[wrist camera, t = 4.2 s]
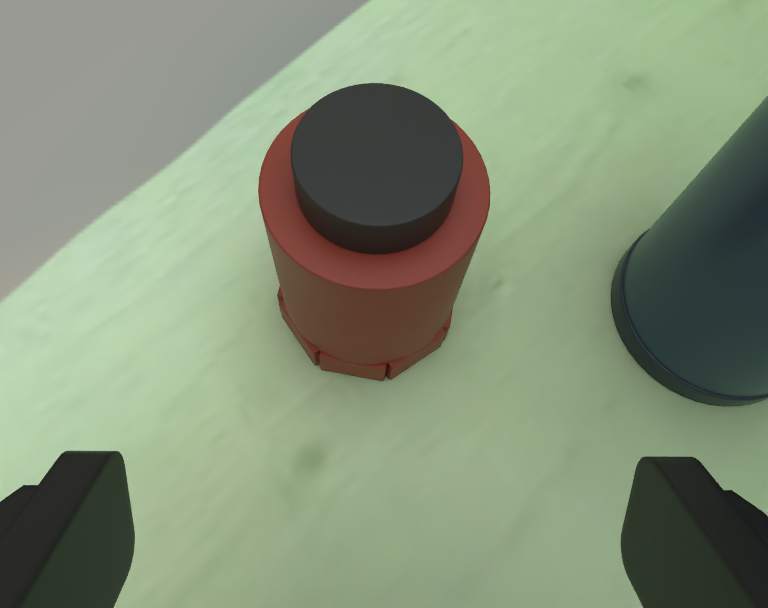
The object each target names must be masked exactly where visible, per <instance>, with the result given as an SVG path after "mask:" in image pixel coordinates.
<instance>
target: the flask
mask: <svg viewBox="0 0 768 608" xmlns="http://www.w3.org/2000/svg"><path fill="white" fill-rule="evenodd" d="M611 296H612V309H613V315H614V319H615V322H616V325H617V328H618V331H619V333H620V335H621V337H622V339H623V341H624V343H625V345H626V346H627V348H628V350H629V351H630V353H631V354H632V355H633V357H634V358H635V359H636V360H637V362H638V363H639V364H640V365H641V366H642V367H643V368H644V369H645V370H646V371H647V372H648V373H649V374H650V375H651V376H653V377H654V378H655V379H656V380H657V381H659V382H660V383H662V384H663V385H665V386H666V387H668V388H669V389H671V390H673V391H675V392H677V393H679V394H681V395H682V396H685V397H687V398H690V399H693V400H695V401H699V402H703V403H707V404H711V405H719V406H741V405H748V404H752V403H756V402H759V401H762V400H765V399H767V398H768V96H767V97H766V98H765V99H764V100H763V101H762V103H761V104H760V105H759V106H758V107H757V108H756V109H755V111H754V112H753V113H752V114H751V115H750V116H749V117H748V118H747V120H746V121H745V122H744V123H743V124H742V125H741V126H740V127H739V129H738V130H737V131H736V132H735V133H734V134H733V135H732V137H731V138H730V139H729V140H728V141H727V142H726V143H725V144H724V146H723V147H722V148H721V149H720V150H719V151H718V152H717V153H716V155H715V156H714V157H713V158H712V159H711V160H710V161H709V163H708V164H707V165H706V166H705V167H704V168H703V169H702V170H701V172H700V173H699V174H698V175H697V176H696V177H695V178H694V179H693V181H692V182H691V183H690V184H689V185H688V186H687V187H686V189H685V190H684V191H683V192H682V193H681V194H680V195H679V196H678V198H677V199H676V200H675V201H674V202H673V203H672V204H671V205H670V207H669V208H668V209H667V210H666V211H665V212H664V213H663V215H662V216H661V217H660V218H659V219H658V220H657V221H656V222H655V224H654V225H653V226H652V227H651V228H649V229H648V230H647V231H646V232H644V233H643V234H642V235H641V236H640V237H639V238H638V239H637V240H636V241H635V242H634V243H633V245H632V246H631V247H630V248H629V249H628V250H627V251H626V253H625V254H624V256H623V257H622V259H621V260H620V262H619V264H618V266H617V269H616V271H615V275H614V278H613V283H612V292H611Z"/></svg>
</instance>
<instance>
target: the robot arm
mask: <svg viewBox="0 0 768 608" xmlns="http://www.w3.org/2000/svg"><path fill="white" fill-rule="evenodd" d="M134 542H135V533H134V525H133V518H132V511H131V504H130V498H129V491H128V484H127V477H126V471H125V464H124V460H123V457H122V455H121V454H120V452H118V451H66V452H64V453H62V454H61V455H60V456H59V458H58V459H57V460H56V462H55V463H54V464H53V466H52V467H51V468H50V470H49V471H48V473H47V474H46V475H45V477H44V478H43V479H42V481H41V482H40V483H39V485H23V486H22V487H21V488H19V489H18V490H16V491H15V492H13V493H12V494H11V495H9V496H8V497H6V498H5V499H4V500H2V501H1V502H0V608H113V607H114V605H115V603H116V601H117V598H118V596H119V594H120V592H121V589H122V587H123V585H124V583H125V580H126V578H127V576H128V573H129V570H130V567H131V563H132V558H133V552H134ZM621 553H622V559H623V564H624V568H625V571H626V573H627V576H628V578H629V580H630V582H631V584H632V586H633V588H634V590H635V592H636V594H637V596H638V598H639V600H640V602H641V604H642V606H643V608H768V516H767V515H766V514H765V513H764V512H762V511H761V510H759V509H758V508H756V507H755V506H754V505H752V504H751V503H749V502H748V501H746V500H745V499H744V498H742V497H741V496H739V495H738V494H736V493H735V492H733V491H732V490H723V489H722V488H721V487H720V485H719V484H718V483H717V482H716V481H715V479H714V478H713V477H712V476H711V474H710V473H709V472H708V471H707V470H706V468H705V467H704V466H703V465H702V463H701V462H700V461H699V460H697V459H696V458H694V457H643V458H641V459H640V461H639V462H638V464H637V467H636V471H635V475H634V480H633V484H632V488H631V493H630V497H629V502H628V506H627V511H626V515H625V520H624V524H623V528H622V534H621Z"/></svg>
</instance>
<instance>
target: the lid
mask: <svg viewBox="0 0 768 608" xmlns="http://www.w3.org/2000/svg"><path fill="white" fill-rule="evenodd" d="M258 193H259V204H260V208H261V212H262V216H263V220H264V224H265V228H266V232H267V236H268V240H269V244H270V248H271V252H272V256H273V260H274V264H275V267H276V271H277V275H278V279H279V283H280V287H279V291H278V295H277V296H278V300H279V306H280V310H281V313H282V317H283V319H284V320H285V322H286V323H287V325H288V326H289V328H290V329H291V331H292V332H293V334H294V335H295V337H296V338H297V340H298V341H299V343H300V344H301V345H302V347H303V348H304V350H305V351H306V353H307V354H308V356H309V357H310V359H311V360H312V362H313V363H314V365H318V364H320V365H321V369H322V370H326V371H332V372H337V373H343V374H348V375H353V376H359V377H364V378H369V379H375V380H380V381H384V378H385V374H386V375H387V377H388V378H389V379H392V378H394V377H395V376H397V375H398V374H400V373H401V372H403V371H404V370H406V369H407V368H409V367H410V366H412V365H413V364H415V363H416V362H418V361H419V360H421V359H422V358H424V357H425V356H427V355H428V354H430V353H431V352H433V351H434V350H436V349H437V348H439V347H440V346H441V344H442V341H444V340H445V337H446V335H447V332H448V330H449V328H450V322H451V315H452V308H453V304H454V302H455V299H456V297H457V294H458V292H459V289H460V287H461V284H462V281H463V279H464V276H465V274H466V271H467V269H468V266H469V264H470V261H471V258H472V256H473V253H474V251H475V248H476V246H477V243H478V241H479V238H480V235H481V233H482V230H483V228H484V225H485V222H486V220H487V216H488V211H489V206H490V185H489V178H488V174H487V170H486V167H485V164H484V162H483V159H482V157H481V155H480V153H479V151H478V150H477V148H476V146H475V144H474V143H473V142H472V140H471V139H470V138H469V137H468V135H467V134H466V133H465V132H464V131H463V130H462V129H461V128H460V127H459V126H458V125H457V124H456V123H455V122H453V121H452V120H451V119H450V118H449V117H448V116H447V114H446V113H445V112H444V111H443V110H442V109H441V108H440V107H439V106H437V105H436V104H435V103H434V102H432V101H431V100H429V99H428V98H426V97H425V96H423V95H421V94H419V93H417V92H415V91H412V90H409V89H407V88H404V87H400V86H395V85H390V84H382V83H368V84H359V85H353V86H349V87H346V88H342V89H339V90H337V91H335V92H332V93H330V94H328V95H327V96H325V97H323V98H322V99H320V100H319V101H318V102H316V103H315V104H314V105H313V106H312V107H311V108H310V109H308V110H306V111H305V112H303V113H301V114H300V115H299V116H297V117H296V118H295V119H293V120H292V121H291V122H290V123H289V124H288V125H287V126H286V127H285V128H284V129H283V130H282V131H281V132H280V133H279V135H278V136H277V137H276V138H275V140H274V141H273V143H272V145H271V146H270V148H269V150H268V152H267V154H266V156H265V159H264V161H263V164H262V167H261V172H260V176H259V188H258Z"/></svg>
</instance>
